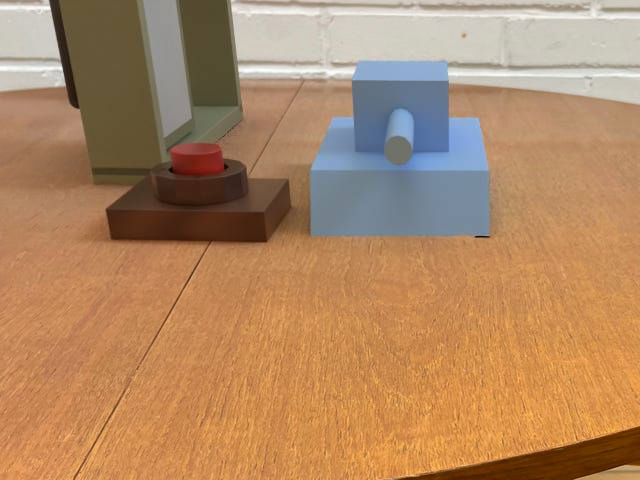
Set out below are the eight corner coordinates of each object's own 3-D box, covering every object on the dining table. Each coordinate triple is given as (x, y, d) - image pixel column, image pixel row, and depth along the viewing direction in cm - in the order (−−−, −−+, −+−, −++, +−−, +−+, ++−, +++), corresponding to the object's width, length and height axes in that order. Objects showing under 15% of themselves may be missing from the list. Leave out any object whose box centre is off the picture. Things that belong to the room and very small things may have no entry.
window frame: (94, 184, 80) (45, -64, 71) (188, 117, 104) (161, -75, 95) (165, 186, 80) (127, -63, 71) (243, 118, 104) (222, -74, 95)
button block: (111, 240, 68) (99, 182, 66) (151, 204, 75) (142, 151, 73) (267, 243, 68) (261, 185, 65) (291, 207, 75) (286, 154, 73)
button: (166, 179, 68) (163, 153, 67) (181, 166, 71) (177, 142, 70) (217, 180, 68) (214, 154, 67) (230, 167, 71) (227, 142, 70)
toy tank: (493, 104, 64) (299, 103, 64) (491, 242, 69) (310, 242, 69) (479, 53, 83) (328, 52, 82) (478, 164, 88) (335, 163, 87)
